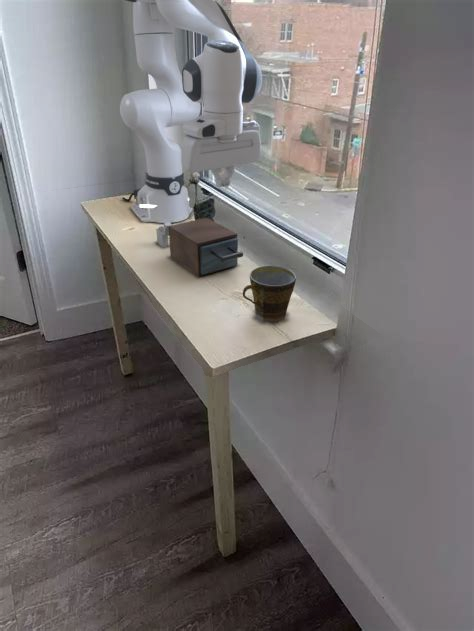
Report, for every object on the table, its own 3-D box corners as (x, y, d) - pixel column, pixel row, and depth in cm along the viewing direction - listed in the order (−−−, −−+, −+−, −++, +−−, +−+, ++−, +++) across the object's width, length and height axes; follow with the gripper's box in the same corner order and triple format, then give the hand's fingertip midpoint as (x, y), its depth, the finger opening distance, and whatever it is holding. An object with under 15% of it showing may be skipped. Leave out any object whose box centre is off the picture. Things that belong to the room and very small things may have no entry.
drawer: (250, 272, 131) (251, 246, 127) (215, 283, 125) (214, 255, 121) (209, 247, 144) (209, 223, 140) (176, 256, 139) (174, 231, 135)
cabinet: (236, 265, 136) (237, 233, 132) (198, 276, 130) (197, 243, 126) (207, 247, 146) (206, 217, 142) (170, 257, 140) (168, 226, 136)
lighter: (157, 242, 149) (155, 216, 145) (162, 241, 150) (160, 215, 146) (167, 251, 144) (166, 224, 140) (173, 249, 145) (171, 223, 141)
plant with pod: (221, 237, 153) (221, 170, 143) (185, 242, 150) (182, 174, 140) (212, 228, 160) (212, 163, 150) (177, 232, 156) (175, 166, 146)
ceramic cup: (273, 300, 120) (275, 261, 115) (302, 318, 113) (306, 277, 108) (228, 316, 113) (229, 276, 108) (256, 336, 106) (258, 294, 101)
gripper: (251, 117, 120) (250, 176, 127) (176, 126, 110) (179, 189, 117) (268, 122, 116) (265, 182, 123) (191, 131, 106) (193, 196, 113)
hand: (222, 185), depth 120 cm, fingers closed
